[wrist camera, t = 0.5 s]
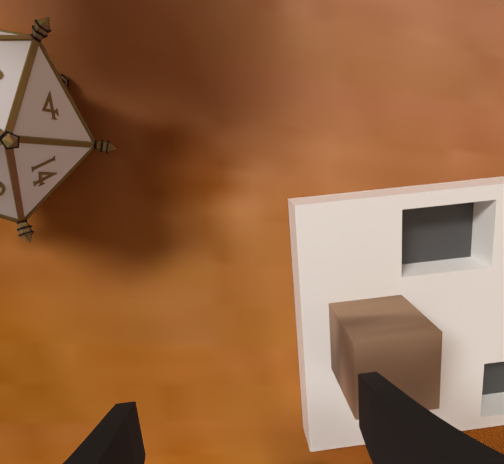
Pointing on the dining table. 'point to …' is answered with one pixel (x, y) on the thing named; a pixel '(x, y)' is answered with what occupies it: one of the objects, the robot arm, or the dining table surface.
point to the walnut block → (385, 348)
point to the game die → (36, 127)
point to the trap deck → (403, 291)
